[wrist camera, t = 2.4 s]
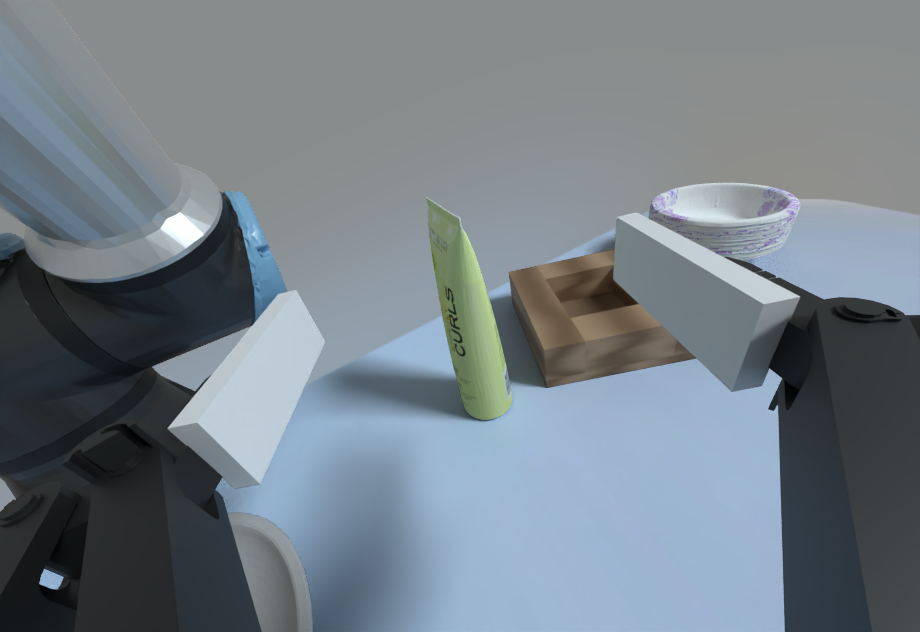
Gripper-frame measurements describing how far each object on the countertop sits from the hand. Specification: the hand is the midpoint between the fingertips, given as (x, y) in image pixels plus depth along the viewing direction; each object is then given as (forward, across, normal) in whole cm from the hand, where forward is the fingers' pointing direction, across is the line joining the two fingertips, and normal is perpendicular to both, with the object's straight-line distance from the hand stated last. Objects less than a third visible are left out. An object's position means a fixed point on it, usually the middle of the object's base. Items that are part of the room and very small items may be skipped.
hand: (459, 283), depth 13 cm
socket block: (+18, +14, -19) cm, 30 cm away
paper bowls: (+28, +34, -19) cm, 48 cm away
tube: (+10, 0, -19) cm, 22 cm away
